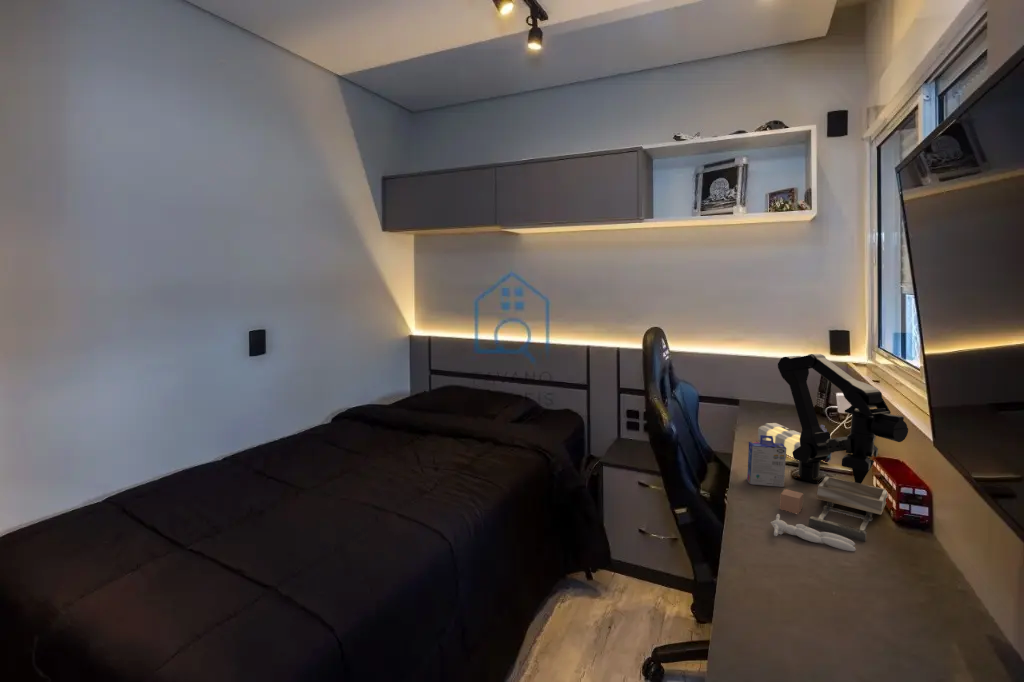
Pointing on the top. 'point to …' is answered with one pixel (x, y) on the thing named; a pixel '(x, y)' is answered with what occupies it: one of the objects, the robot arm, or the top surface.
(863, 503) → the beige open rectangular box
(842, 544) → the decorative figure
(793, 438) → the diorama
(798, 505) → the block
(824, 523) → the framed panel
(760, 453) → the ink cartridge box
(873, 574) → the top surface
